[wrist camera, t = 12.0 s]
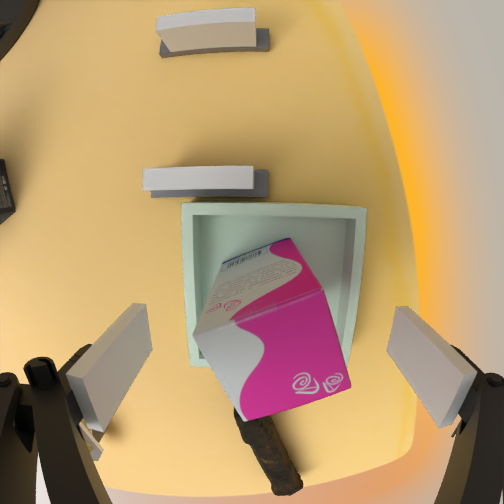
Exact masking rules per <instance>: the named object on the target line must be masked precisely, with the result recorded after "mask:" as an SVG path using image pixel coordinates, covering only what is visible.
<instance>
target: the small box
mask: <svg viewBox="0 0 504 504" xmlns="http://www.w3.org/2000/svg"><path fill="white" fill-rule="evenodd" d="M14 212H15V207H14V203H13V199H12V195H11V191H10V186H9V182H8V177H7V173H6V168H5V163H4V159H0V224H2V223H3V222H4V221H5V220H6V219H7V218H8V217H10V216H11V215H12V214H13V213H14Z"/></svg>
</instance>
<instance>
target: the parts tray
mask: <svg viewBox="0 0 504 504" xmlns="http://www.w3.org/2000/svg"><path fill="white" fill-rule="evenodd" d="M366 219H367V208H365V207H359V206H353V205H335V204H314V203H287V202H233V201H202V202H186V203H181V227H182V260H183V281H184V298H185V313H186V326H187V338H188V349H189V359H190V366H198V367H210V366H209V364H208V362H207V361H206V359H205V357H204V356H203V354H202V352H201V351H200V349H199V347H198V345H197V344H196V342H195V340H194V338H193V336H192V334H193V332H194V329H195V327H196V324H197V322H198V319H199V317H200V315H201V313H202V310H203V308H204V305H205V303H206V300H207V298H208V296H209V294H210V291H211V289H212V286H213V284H214V281H215V279H216V277H217V274H218V272H219V270H220V267H221V265H222V263H223V262H225V261H228V260H230V259H232V258H235V257H237V256H240V255H242V254H245V253H247V252H250V251H253V250H255V249H258V248H261V247H263V246H266V245H268V244H271V243H274V242H276V241H279V240H282V239H285V238H291V239H292V241H293V242H294V244H295V245H296V247H297V249H298V250H299V252H300V253H301V255H302V256H303V258H304V259H305V261H306V262H307V264H308V265H309V267H310V269H311V270H312V272H313V274H314V275H315V277H316V278H317V279H318V281H319V283H320V284H321V286H322V287H323V289H324V292H325V295H326V298H327V302H328V305H329V308H330V311H331V315H332V318H333V321H334V325H335V328H336V331H337V335H338V338H339V342H340V346H341V349H342V353H343V357H344V360H345V364H346V368H347V366H348V361H349V356H350V351H351V345H352V340H353V334H354V328H355V322H356V315H357V308H358V301H359V294H360V286H361V277H362V268H363V258H364V247H365V235H366Z"/></svg>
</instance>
